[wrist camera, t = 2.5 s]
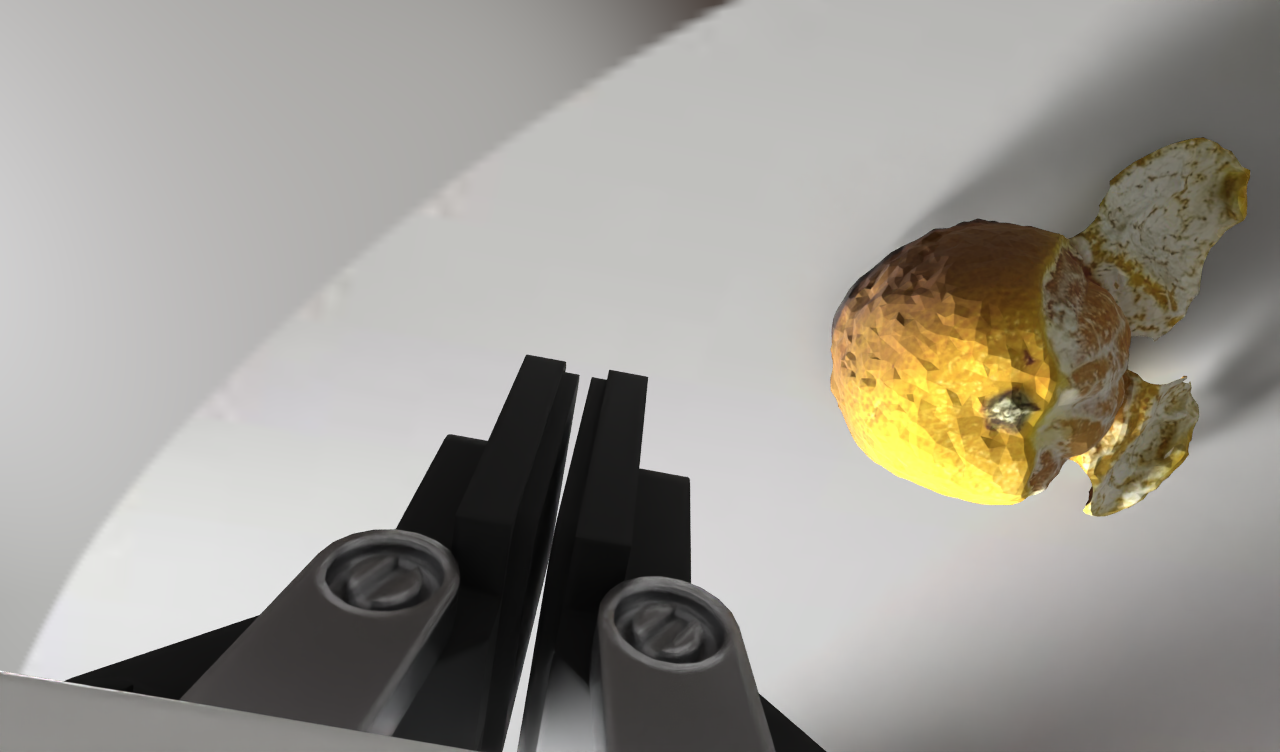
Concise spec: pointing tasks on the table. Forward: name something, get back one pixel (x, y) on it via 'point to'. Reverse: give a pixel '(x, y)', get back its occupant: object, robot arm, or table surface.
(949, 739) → the table surface
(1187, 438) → the fruit
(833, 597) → the table surface
